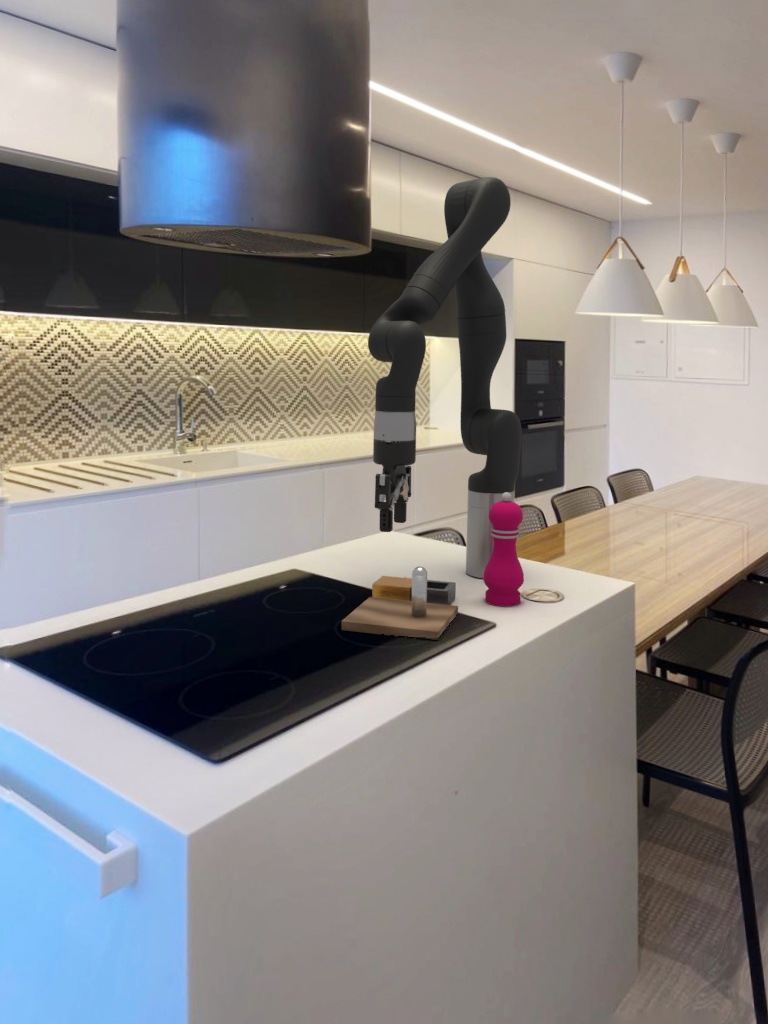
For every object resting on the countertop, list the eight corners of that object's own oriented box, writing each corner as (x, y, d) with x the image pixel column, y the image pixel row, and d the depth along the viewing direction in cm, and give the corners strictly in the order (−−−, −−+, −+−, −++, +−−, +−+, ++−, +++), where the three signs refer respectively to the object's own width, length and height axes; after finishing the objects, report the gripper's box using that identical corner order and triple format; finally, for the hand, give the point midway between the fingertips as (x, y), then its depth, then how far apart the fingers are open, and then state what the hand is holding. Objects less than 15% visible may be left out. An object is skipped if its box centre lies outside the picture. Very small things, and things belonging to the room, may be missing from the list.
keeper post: (413, 612, 137) (414, 564, 135) (428, 613, 136) (429, 565, 134) (409, 616, 134) (410, 567, 133) (424, 618, 134) (425, 569, 132)
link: (382, 591, 154) (382, 575, 153) (455, 598, 150) (455, 582, 149) (372, 600, 148) (372, 584, 148) (447, 607, 144) (448, 591, 144)
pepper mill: (522, 608, 144) (526, 496, 140) (480, 606, 145) (484, 494, 142) (523, 597, 151) (528, 489, 147) (484, 594, 152) (487, 488, 148)
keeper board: (369, 605, 145) (369, 597, 145) (457, 614, 141) (458, 605, 140) (341, 630, 132) (341, 621, 132) (437, 641, 127) (438, 631, 127)
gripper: (386, 432, 152) (385, 518, 155) (361, 439, 139) (360, 533, 142) (425, 434, 150) (423, 521, 153) (403, 441, 137) (401, 536, 140)
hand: (393, 526), depth 148 cm, fingers open, 8 cm apart
